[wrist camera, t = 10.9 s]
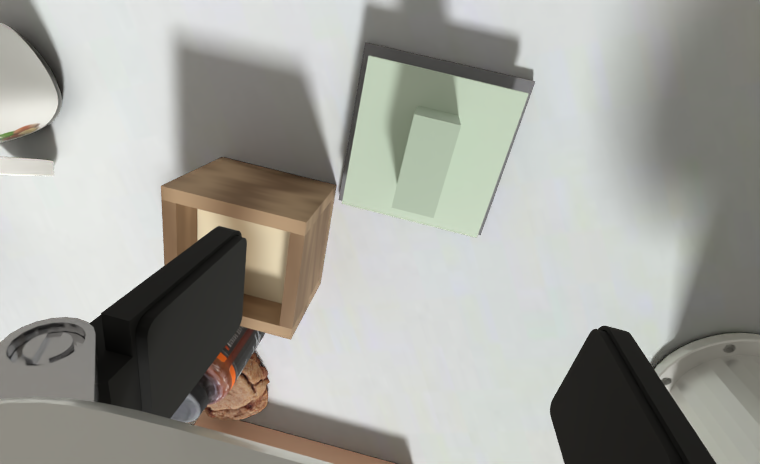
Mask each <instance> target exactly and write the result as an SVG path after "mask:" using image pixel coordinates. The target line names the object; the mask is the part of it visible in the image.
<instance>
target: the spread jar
mask: <svg viewBox="0 0 760 464" xmlns="http://www.w3.org/2000/svg"><path fill="white" fill-rule="evenodd" d="M61 105H62V97H61V92H60V89H59V86H58V83H57V81H56V78H55V76H54V74H53V72H52V71H51V69H50V67H49V66H48V64H47V63H46V61H45V60H44V59H43V57H42V56H41V55H40V54H39V53H38V51H37V50H36V49H35V48H34V47H33V46H32V45H31V44H30V43H29V42H28V41H27V40H26V39H25V38H24V37H23V36H21V35H20V34H19V33H18V32H17V31H15V30H14V29H12V28H10V27H9V26H7V25H5V24H3V23H0V143H2V142H6V141H10V140H13V139H16V138H20V137H23V136H26V135H29V134H31V133H34V132H36V131H38V130H41V129H43V128H44V127H46V126H48V125H49V124H50V123H52V122H53V121H54V120H55V119H56V117H57V116H58V114H59V112H60V109H61ZM0 175H24V176H54V162H53V161H50V160H42V159H30V158H16V157H0Z"/></svg>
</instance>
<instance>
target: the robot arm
mask: <svg viewBox="0 0 760 464" xmlns="http://www.w3.org/2000/svg"><path fill="white" fill-rule="evenodd" d="M246 250H247V240H246V238H243V237H242V235H241V232H240V231H237V230H233V229H230V228H226V227H222V226H217V227H216V228H214V229H213V230H212V231H210V232H209V233H208V234H206V235H205V236H204V237H202V238H201V239H200V240H198V241H197V242H196V243H194V244H193V245H192V246H190V247H189V248H188V249H186V250H185V251H184V252H182V253H181V254H180V255H178V256H177V257H176V258H174V259H173V260H172V261H170V262H169V263H168V264H166V265H165V266H164V267H162V268H161V269H160V270H158V271H157V272H156V273H154V274H153V275H152V276H150V277H149V278H148V279H146V280H145V281H144V282H142V283H141V284H140V285H138V286H137V287H136V288H134V289H133V290H132V291H130V292H129V293H128V294H126V295H125V296H124V297H122V298H121V299H120V300H118V301H117V302H116V303H114V304H113V305H112V306H110V307H109V308H108V309H106V310H105V311H104V312H102V313H101V315H100V316H99V317H97V318H96V319H95V320H93V321H92V322H91V323H88V322H86V321H84V320H81V319H78V318H68V317H62V318H50V319H46V320H42V321H37V322H34V323H32V324H29V325H26V326H24V327H21V328H20V329H18V330H16V331H14V332H13V333H11V334H9V335H8V336H7V337H6V338H5V339H4V340H3V341H1V342H0V464H333V463H329V462H326V461H322V460H319V459H315V458H312V457H308V456H304V455H301V454H297V453H294V452H290V451H287V450H283V449H280V448H276V447H272V446H269V445H265V444H262V443H258V442H255V441H251V440H247V439H244V438H240V437H237V436H233V435H230V434H226V433H223V432H219V431H215V430H212V429H208V428H204V427H200V426H196V425H192V424H189V423H185V422H181V421H177V420H173V419H170V418H171V417H172V416H173V414H174V413H175V412H176V411H177V409H178V408H179V407H180V405H181V404H182V403H183V401H184V400H185V399H186V397H187V396H188V395H189V393H190V392H191V391H192V389H193V388H194V387H195V385H196V384H197V383H198V381H199V380H200V379H201V377H202V376H203V375H204V373H205V372H206V371H207V370H208V368H209V367H210V366H211V364H212V363H213V362H214V360H215V359H216V358H217V356H218V355H219V354H220V352H221V351H222V350H223V348H224V347H225V346H226V344H227V343H228V342H229V340H230V339H231V338H232V336H233V335H234V334H235V333H236V331H237V330H238V328H239V326H240V324H241V320H242V313H243V298H244V282H245V266H246ZM550 415H551V419H552V422H553V425H554V429H555V432H556V436H557V439H558V443H559V446H560V449H561V453H562V456H563V460H564V463H565V464H760V334H750V333H728V334H721V335H715V336H710V337H706V338H703V339H700V340H697V341H694V342H691V343H689V344H687V345H685V346H683V347H680V348H679V349H677V350H676V351H674V352H673V353H671V354H669V355H668V356H667V357H666V358H665V359H663V360H662V361H661V362H660V363H659V364H658V365H657V366H656V368H655V369H653V367H652V366H651V364H650V363H649V361H648V360H647V358H646V357H645V355H644V354H643V352H642V351H641V349H640V348H639V346H638V345H637V343H636V342H635V340H634V339H633V337H632V335H631V334H630V333H629V332H627V331H623V330H620V329H616V328H612V327H608V326H601V327H600V328H599V329H598V330H597V329H594V330H592V331H591V332H590V334H589V336H588V337H587V339H586V341H585V343H584V345H583V346H582V348H581V350H580V352H579V354H578V355H577V357H576V359H575V361H574V362H573V364H572V366H571V368H570V370H569V371H568V373H567V375H566V377H565V378H564V380H563V382H562V384H561V386H560V387H559V389H558V391H557V393H556V394H555V396H554V398H553V400H552V402H551V406H550Z"/></svg>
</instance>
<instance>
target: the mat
mask: <svg viewBox="0 0 760 464" xmlns="http://www.w3.org/2000/svg"><path fill="white" fill-rule="evenodd" d="M368 56H374V57H378V58H383V59H387V60H391V61H395V62H400V63H404V64H408V65H412V66H416V67H421V68H425V69H429V70H433V71H437V72H442V73H446V74H450V75H454V76H459V77H463V78H467V79H471V80H475V81H480V82H484V83H488V84H492V85H496V86H501V87H505V88H509V89H513V90H518V91H522V92H526V93H528V97H527V100H526V103H525V106H524V108H523V111H522V114H521V117H520V119H519V122H518V125H517V128H516V131H515V133H514V136H513V139H512V142H511V144H510V147H509V150H508V153H507V155H506V158H505V161H504V164H503V167H502V169H501V172H500V175H499V178H498V180H497V183H496V186H495V189H494V192H493V194H492V197H491V200H490V203H489V205H488V208H487V211H486V214H485V217H484V219H483V222H482V225H481V228H480V230H479V233H478V235H481V232H482V229H483V227H484V224H485V221H486V218H487V215H488V213H489V210H490V207H491V204H492V201H493V199H494V196H495V193H496V190H497V187H498V185H499V182H500V179H501V176H502V173H503V171H504V168H505V165H506V162H507V159H508V157H509V154H510V151H511V148H512V145H513V142H514V140H515V137H516V134H517V131H518V128H519V126H520V123H521V120H522V117H523V114H524V112H525V109H526V106H527V103H528V100H529V98H530V95H531V92H532V89H533V86H534V84H535V81H531V80H527V79H523V78H518V77H514V76H510V75H505V74H501V73H497V72H492V71H488V70H483V69H479V68H475V67H470V66H466V65H462V64H457V63H453V62H449V61H444V60H440V59H436V58H431V57H427V56H422V55H418V54H414V53H409V52H405V51H401V50H396V49H392V48H388V47H383V46H379V45H375V44H370V43H365V48H364V54H363V60H362V66H361V72H360V77H359V83H358V89H357V95H356V101H355V107H354V113H353V119H352V125H351V130H350V136H349V142H348V148H347V154H346V160H345V166H344V172H343V178H342V184H341V189H340V195H339V200H341V201H342V200H343V194H344V189H345V183H346V178H347V172H348V167H349V161H350V156H351V150H352V145H353V139H354V134H355V128H356V122H357V117H358V111H359V106H360V100H361V95H362V89H363V84H364V78H365V73H366V67H367V62H368Z"/></svg>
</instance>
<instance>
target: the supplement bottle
mask: <svg viewBox="0 0 760 464" xmlns="http://www.w3.org/2000/svg"><path fill="white" fill-rule="evenodd" d="M264 334H265V332H261V331H257V330H253V329H250V328H246V327H242V326H239V328H238V330H237V331H236V333H235V334H234V335H233V336H232V338H231V339H230V340H229V342H228V343H227V344H226V346H225V347H224V348H223V350H222V351H221V352H220V354H219V355H218V356H217V358H216V359H215V360H214V362H213V363H212V364H211V366H210V367H209V368H208V370H207V371H206V372H205V373H204V375H203V376H202V377H201V379H200V380H199V381H198V383H197V384H196V385H195V387H194V388H193V389H192V391H191V392H190V393H189V395H188V396H187V397H186V399H185V400H184V401H183V403H182V404H181V405H180V407H179V408H178V409H177V411H176V412H175V413H174V414H173V416H172V417H171V418H170V419H173V420H177V421H181V422H192V421H194V420H196V419H197V418H198V417H199V416H200V415H201V413H202V411H203V410H204V409H205V408H206V407H207V405H211V404H214V403H217V402H219V401H220V400H222V399H223V398H224V397H225V396H226V395H227V394H228V393H229V391H230V390H231V388H232V387H233V385H234V383H235V382H236V380H237V378H238V377H239V375H240V374H241V372H242V370H243V369H244V367H245V366H246V364H247V362H248V361H249V359H250V357H251V356H252V354H253V353H254V351H255V349H256V348H257V346H258V344H259V343H260V341H261V339H262V338H263V336H264Z"/></svg>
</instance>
